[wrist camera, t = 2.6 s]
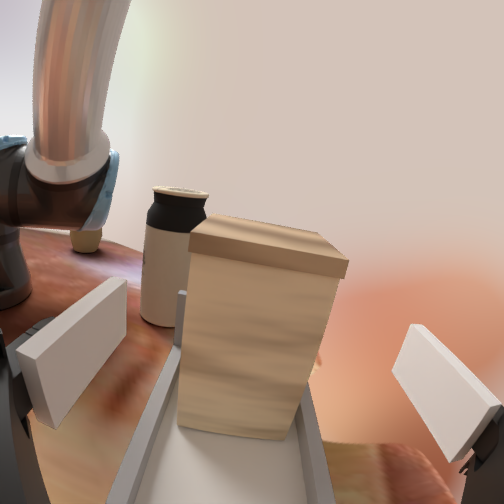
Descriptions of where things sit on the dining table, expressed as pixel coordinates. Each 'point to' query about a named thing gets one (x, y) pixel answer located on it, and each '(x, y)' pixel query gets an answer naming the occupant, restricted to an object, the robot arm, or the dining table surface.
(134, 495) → the bay
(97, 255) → the dining table surface
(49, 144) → the robot arm
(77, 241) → the squeeze bottle
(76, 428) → the dining table surface
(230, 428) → the wooden block
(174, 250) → the travel mug
